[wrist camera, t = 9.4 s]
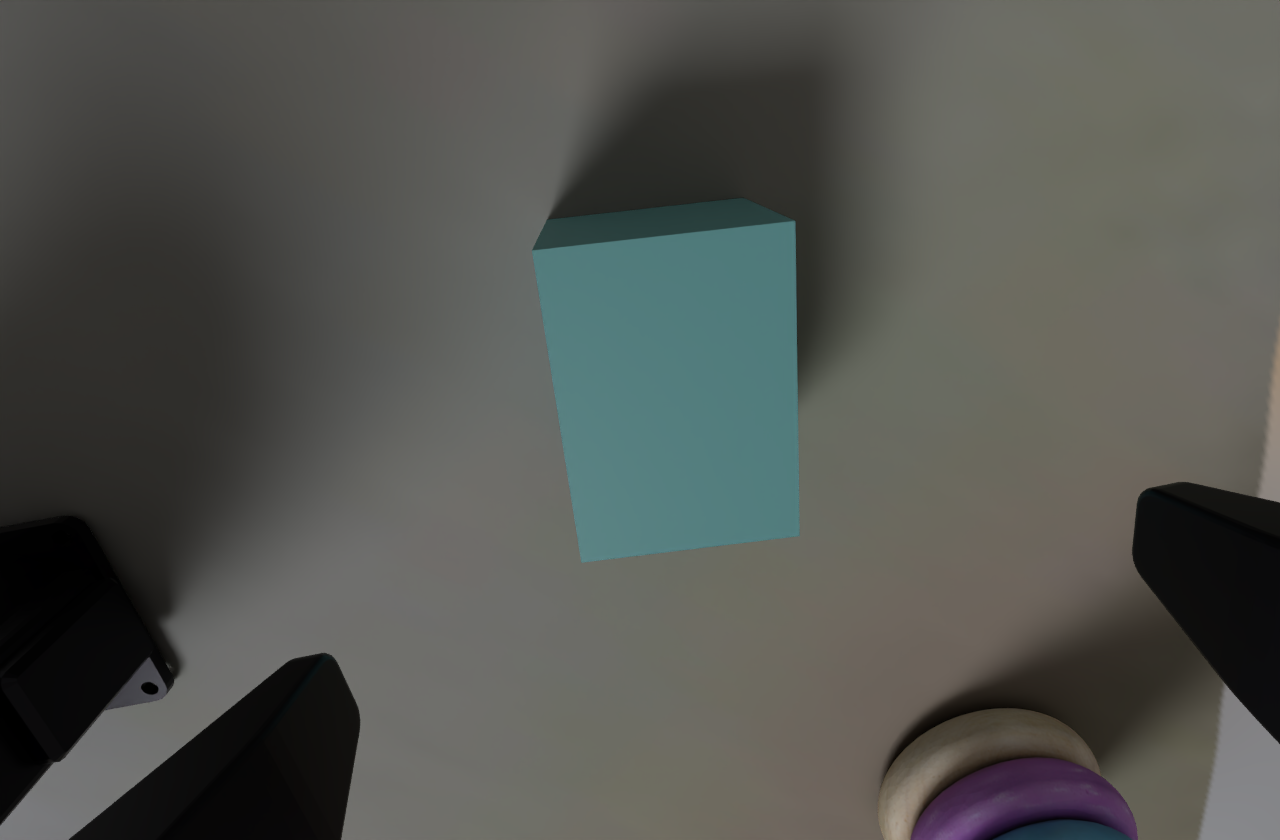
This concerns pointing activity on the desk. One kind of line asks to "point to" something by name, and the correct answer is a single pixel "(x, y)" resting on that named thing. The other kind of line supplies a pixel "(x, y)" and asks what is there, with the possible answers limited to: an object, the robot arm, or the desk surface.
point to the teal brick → (674, 374)
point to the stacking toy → (1001, 783)
